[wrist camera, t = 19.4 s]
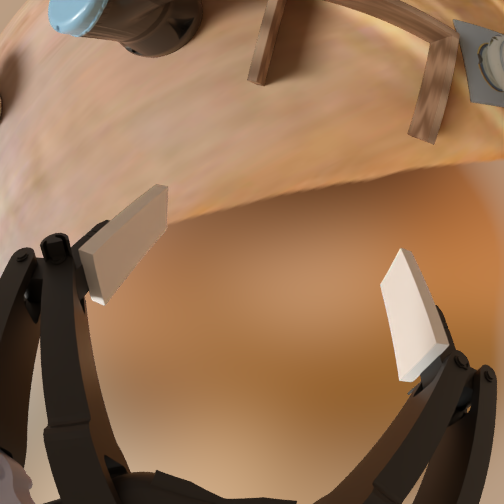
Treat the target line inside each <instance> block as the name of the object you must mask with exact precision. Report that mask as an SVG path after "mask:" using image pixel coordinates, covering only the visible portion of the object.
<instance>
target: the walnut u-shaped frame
mask: <svg viewBox="0 0 504 504" xmlns="http://www.w3.org/2000/svg"><path fill="white" fill-rule="evenodd" d="M286 1H287V0H268V2H267V6H266V9H265V13H264V17H263V20H262V24H261V27H260V31H259V35H258V39H257V43H256V46H255V50H254V54H253V58H252V62H251V66H250V70H249V74H248V79H247V80H248V81H250V82H252V83H254V84H257V85H261V86H264V85H265V81H266V77H267V73H268V69H269V65H270V61H271V57H272V53H273V49H274V45H275V42H276V38H277V34H278V30H279V27H280V23H281V19H282V15H283V12H284V8H285V5H286ZM324 1H328V2H332V3H335V4H339V5H342V6H345V7H348V8H351V9H354V10H357V11H360V12H363V13H366V14H368V15H371V16H374V17H376V18H379V19H381V20H383V21H386V22H388V23H391V24H393V25H395V26H397V27H399V28H402V29H404V30H406V31H408V32H410V33H412V34H414V35H416V36H418V37H420V38H422V39H423V40H425V41H427V42H429V43H430V48H429V53H428V58H427V63H426V68H425V72H424V76H423V81H422V85H421V89H420V93H419V96H418V100H417V104H416V107H415V111H414V114H413V118H412V121H411V124H410V128H409V131H408V135H410V136H412V137H415V138H418V139H420V140H423V141H426V142H428V143H431V144H433V145H434V144H435V141H436V138H437V135H438V131H439V128H440V125H441V121H442V118H443V114H444V111H445V107H446V103H447V99H448V95H449V91H450V87H451V82H452V77H453V73H454V67H455V62H456V56H457V50H458V44H459V36H460V34H459V33H458V32H456V31H455V30H453V29H451V28H450V27H448V26H447V25H445V24H443V23H442V22H440V21H438V20H437V19H435V18H433V17H431V16H430V15H428V14H426V13H424V12H422V11H420V10H418V9H416V8H414V7H412V6H410V5H408V4H406V3H404V2H402V1H400V0H324Z"/></svg>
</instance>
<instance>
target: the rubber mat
mask: <svg viewBox="0 0 504 504" xmlns="http://www.w3.org/2000/svg"><path fill="white" fill-rule="evenodd" d="M453 22H454V26H455V29H456V32H458V33H459V34H460V36H459V43H460V47H461V51H462V55H463V60H464V64H465V69H466V75H467V80H468V86H469V93H470V101H471V102H473V103H480V104H487V105H493V106H499V107H504V92H498V91H496V90H494V89H493V88H491V87H490V86H489V85H488V83H487V82H486V81H485V79H484V78H483V76H482V74H481V72H480V69H479V66H478V63H479V58H478V55H477V51H478V48H479V46H480V45H481V44H483V43H489V42H490V40H491V38H492V37H494V36H495V35H499V34H500V33H498V32H495V31H492V30H489V29H486V28H483V27H480V26H477V25H473V24H470V23H466V22H462V21H459V20H453Z"/></svg>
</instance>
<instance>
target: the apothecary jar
mask: <svg viewBox="0 0 504 504" xmlns="http://www.w3.org/2000/svg"><path fill="white" fill-rule="evenodd" d="M477 55H478V58H479V63H478V66H479V69H480V72H481V74H482V76H483V78H484V79H485V81H486V82H487V83H488V85H489V86H490V87H491V88H493V89H494V90H496V91H498V92H504V35H503V34H499V35H495V36H494V37H492V38H491V40H490V42H489V43H483V44H481V45H480V46H479V48H478V51H477Z"/></svg>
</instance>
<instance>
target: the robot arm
mask: <svg viewBox="0 0 504 504" xmlns="http://www.w3.org/2000/svg"><path fill="white" fill-rule="evenodd" d="M202 13H203V9H202V4H201V1H200V0H50V2H49V8H48V17H49V22H50V24H51V26H52V27H53V29H54V30H56V31H57V32H59V33H63V34H69V35H72V36H75V37H88V38H97V39H105V40H112V41H118V42H119V43H120V44H121V45H122V46H124V47H125V48H126V49H127V50H128V51H129V52H131V53H133V54H135V55H138V56H143V57H151V58H154V57H161V56H165V55H168V54H170V53H172V52H174V51H176V50H178V49H179V48H181V47H182V46H183V45H185V44H186V43H187V42H188V41H189V40H190V39H191V38H192V36H193V35H194V34H195V32H196V31H197V29H198V27H199V25H200V23H201V19H202ZM167 205H168V186H163V185H158V184H156V185H154V186H153V187H152V188H150V189H149V190H148V191H146V192H145V193H144V194H143V195H141V196H140V197H139V198H137V199H136V200H135V201H134V202H132V203H131V204H130V205H129V206H127V207H126V208H125V209H124V210H123V211H121V212H120V213H119V214H118V215H117V216H115V217H114V218H113V219H112V220H111V221H109V220H105V221H103V222H101V223H99V224H97V225H96V226H95V227H94V228H92V229H91V231H89V232H88V233H87V234H86V235H85V236H83V237H82V238H81V239H80V240H79V241H78V242H76V243H75V244H74V245H73V246H72V247H70V243H69V238H68V236H67V235H66V234H63V233H55V234H52V235H49V236H48V237H46V238H45V239H44V240H43V241H42V242H41V244H40V247H41V250H42V254H43V257H44V258H36V256H35V253H34V250H33V249H32V248H28V247H27V248H22V249H19V250H18V251H16V252H15V253H14V254H13V255H12V257H11V259H10V260H9V262H8V264H7V266H6V268H5V270H4V272H3V274H2V276H1V278H0V504H35V503H34V502H33V500H32V498H31V496H30V492H29V489H31V487H32V481H31V479H30V477H29V476H28V475H27V474H26V472H25V470H24V465H25V458H26V449H27V424H28V409H29V398H30V390H31V382H32V375H33V369H34V363H35V358H36V353H37V348H38V343H39V339H40V348H41V367H42V379H43V390H44V398H45V405H46V412H47V417H48V426H47V427H46V428H45V429H44V433H43V435H44V443H45V448H46V452H47V456H48V460H49V463H50V467H51V471H52V474H53V477H54V480H55V483H56V487H57V489H58V492H59V495H60V499H57V500H54V501H51V502H48V503H44V504H296V503H297V501H292V500H280V499H271V498H264V497H262V498H245V499H225V498H222V497H219V496H217V495H215V494H213V493H211V492H209V491H207V490H205V489H203V488H201V487H199V486H198V485H195V484H194V483H192V482H190V481H187V480H184V479H181V478H178V477H174V476H172V475H169V474H165V473H163V472H160V471H158V470H156V472H155V473H152V472H133V473H131V472H130V470H129V467H128V465H127V462H126V460H125V458H124V455H123V454H122V452H121V450H120V448H119V446H118V444H117V443H116V440H115V437H114V434H113V431H112V428H111V425H110V422H109V418H108V415H107V412H106V408H105V404H104V401H103V397H102V393H101V389H100V385H99V380H98V376H97V372H96V367H95V362H94V356H93V351H92V345H91V339H90V333H89V325H88V317H87V308H86V300H85V297H84V296H85V295H86V293H87V292H88V291H89V293H90V296H91V299H92V300H93V301H95V302H97V303H100V304H102V305H104V306H105V305H106V304H107V303H108V301H109V300H110V298H111V297H112V296H113V295H114V293H115V292H116V291H117V289H118V288H119V287H120V285H121V284H122V283H123V282H124V280H125V279H126V278H127V277H128V275H129V274H130V273H131V272H132V270H133V269H134V268H135V266H136V265H137V264H138V263H139V262H140V260H141V259H142V258H143V257H144V256H145V254H146V253H147V252H148V251H149V249H150V248H151V247H152V246H153V245H154V244H155V243H156V241H157V240H158V239H159V238H160V237H161V235H162V234H163V233H164V232H165V231H166V230H167ZM380 286H381V290H382V294H383V298H384V303H385V307H386V311H387V316H388V320H389V324H390V329H391V334H392V340H393V345H394V351H395V356H396V362H397V369H398V375H399V381H407V382H412V381H414V380H415V379H416V378H417V377H418V376H419V375H420V376H421V382H420V383H419V384H418V385H417V386H415V387H414V388H413V389H412V390H411V391H410V392H408V395H409V394H410V393H412V394H411V396H410V397H409V399H408V400H407V402H406V403H405V405H404V406H403V408H402V409H401V411H400V412H399V414H398V415H397V416H396V418H395V420H394V421H393V422H392V423H391V425H390V426H389V427H388V429H387V430H386V431H385V433H384V434H383V435H382V437H381V438H380V439H379V440H378V442H377V443H376V444H375V445H374V447H373V448H372V449H371V450H370V452H369V453H368V454H367V455H366V456H365V457H364V459H363V460H362V461H361V462H360V463H359V464H358V465H357V466H356V467H355V469H354V470H353V471H352V472H351V473H350V474H349V475H348V476H347V477H346V478H345V479H344V480H343V481H342V482H341V483H340V484H339V485H338V486H337V487H336V488H335V489H334V490H333V491H332V492H330V493H329V494H328V495H326V496H324V497H323V498H321V499H319V500H318V501H316V502H315V503H314V504H402V502H403V501H404V499H405V498H406V496H407V495H408V494H409V492H410V491H411V489H412V488H413V486H414V485H415V483H416V482H417V480H418V479H419V477H420V476H421V474H422V472H423V471H424V469H425V468H426V466H427V464H428V463H429V464H428V467H427V469H426V472H425V475H424V478H423V480H422V483H421V485H420V488H419V490H418V493H417V495H416V497H415V499H414V501H413V504H479V502H480V498H481V495H482V491H483V488H484V484H485V479H486V476H487V471H488V467H489V462H490V456H491V450H492V444H493V436H494V428H495V416H496V400H497V378H496V375H495V372H494V370H493V369H492V368H491V367H490V366H488V365H483V366H482V367H481V368H480V369H479V370H475V369H473V368H471V367H470V365H469V361H468V359H467V357H466V356H465V355H464V354H463V353H462V352H460V351H458V350H456V349H455V346H454V343H453V340H452V337H451V334H450V331H449V329H448V326H447V323H446V321H445V318H444V315H443V313H442V311H441V310H440V309H439V307H438V306H437V305H435V304H434V301H433V299H432V296H431V294H430V292H429V289H428V287H427V285H426V282H425V280H424V277H423V275H422V273H421V271H420V269H419V266H418V264H417V263H416V260H415V258H414V256H413V254H412V252H411V251H408V250H406V249H403V248H400V250H399V252H398V254H397V255H396V257H395V259H394V261H393V263H392V265H391V267H390V268H389V270H388V272H387V274H386V276H385V277H384V279H383V281H382V283H381V284H380ZM470 406H471V408H470V411H469V412H468V413H467V408H468V407H470Z"/></svg>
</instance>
